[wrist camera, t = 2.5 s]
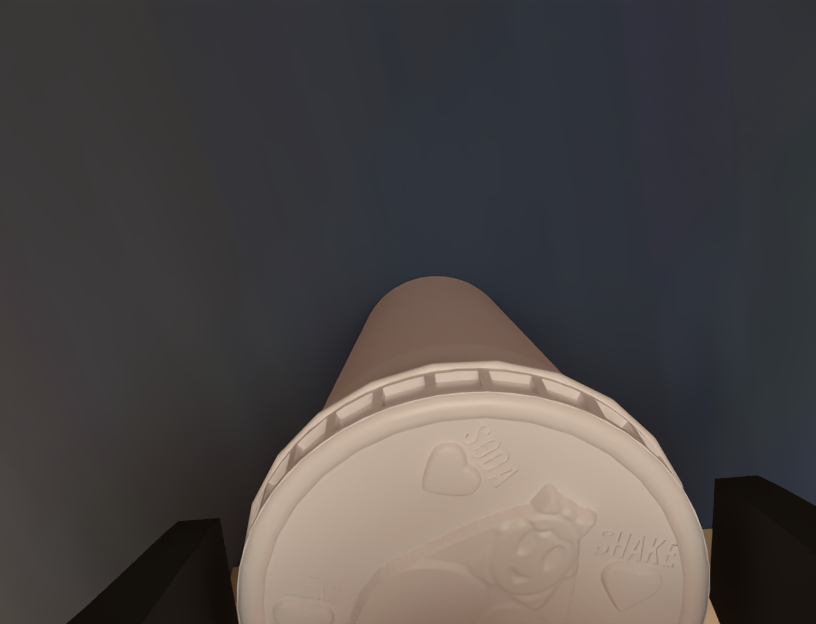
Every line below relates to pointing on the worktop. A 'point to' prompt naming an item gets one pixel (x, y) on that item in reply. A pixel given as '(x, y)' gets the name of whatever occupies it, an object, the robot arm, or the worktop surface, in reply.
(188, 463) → the worktop surface
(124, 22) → the worktop surface
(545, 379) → the smoothie
